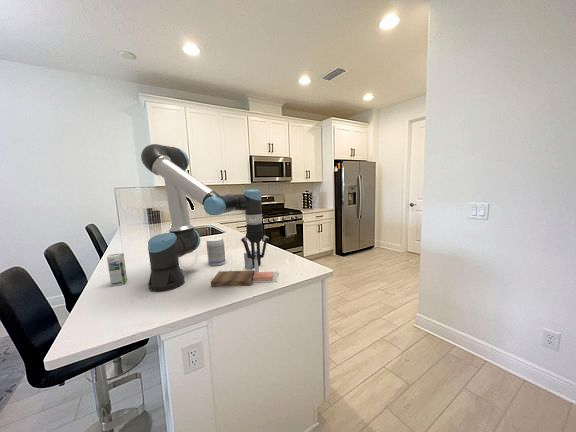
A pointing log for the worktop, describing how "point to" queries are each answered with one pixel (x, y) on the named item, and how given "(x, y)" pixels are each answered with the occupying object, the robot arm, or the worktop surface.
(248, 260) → the medicine box
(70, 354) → the worktop surface
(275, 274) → the mat
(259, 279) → the card
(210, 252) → the supplement tub
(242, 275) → the deck
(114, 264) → the syrup box
